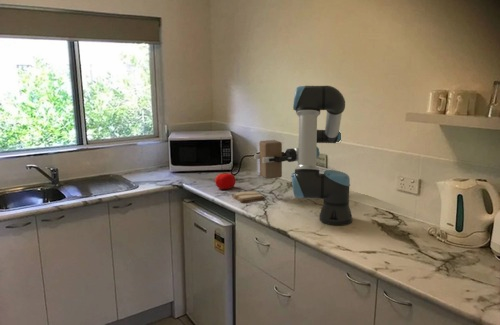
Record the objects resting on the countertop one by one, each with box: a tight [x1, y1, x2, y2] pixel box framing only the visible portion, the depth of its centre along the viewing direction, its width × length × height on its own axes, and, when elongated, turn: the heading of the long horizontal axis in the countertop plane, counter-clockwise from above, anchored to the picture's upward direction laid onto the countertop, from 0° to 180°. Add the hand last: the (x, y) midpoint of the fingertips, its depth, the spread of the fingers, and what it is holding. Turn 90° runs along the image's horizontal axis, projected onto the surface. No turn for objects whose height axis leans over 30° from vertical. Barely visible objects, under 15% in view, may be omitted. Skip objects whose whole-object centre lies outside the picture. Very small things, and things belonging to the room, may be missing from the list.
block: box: [258, 139, 283, 180], centre depth 215 cm, size 10×10×20 cm
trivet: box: [231, 190, 266, 204], centre depth 220 cm, size 14×14×2 cm
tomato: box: [214, 172, 236, 190], centre depth 239 cm, size 11×13×10 cm
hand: (258, 158), depth 212 cm, fingers closed on block, 10 cm apart
